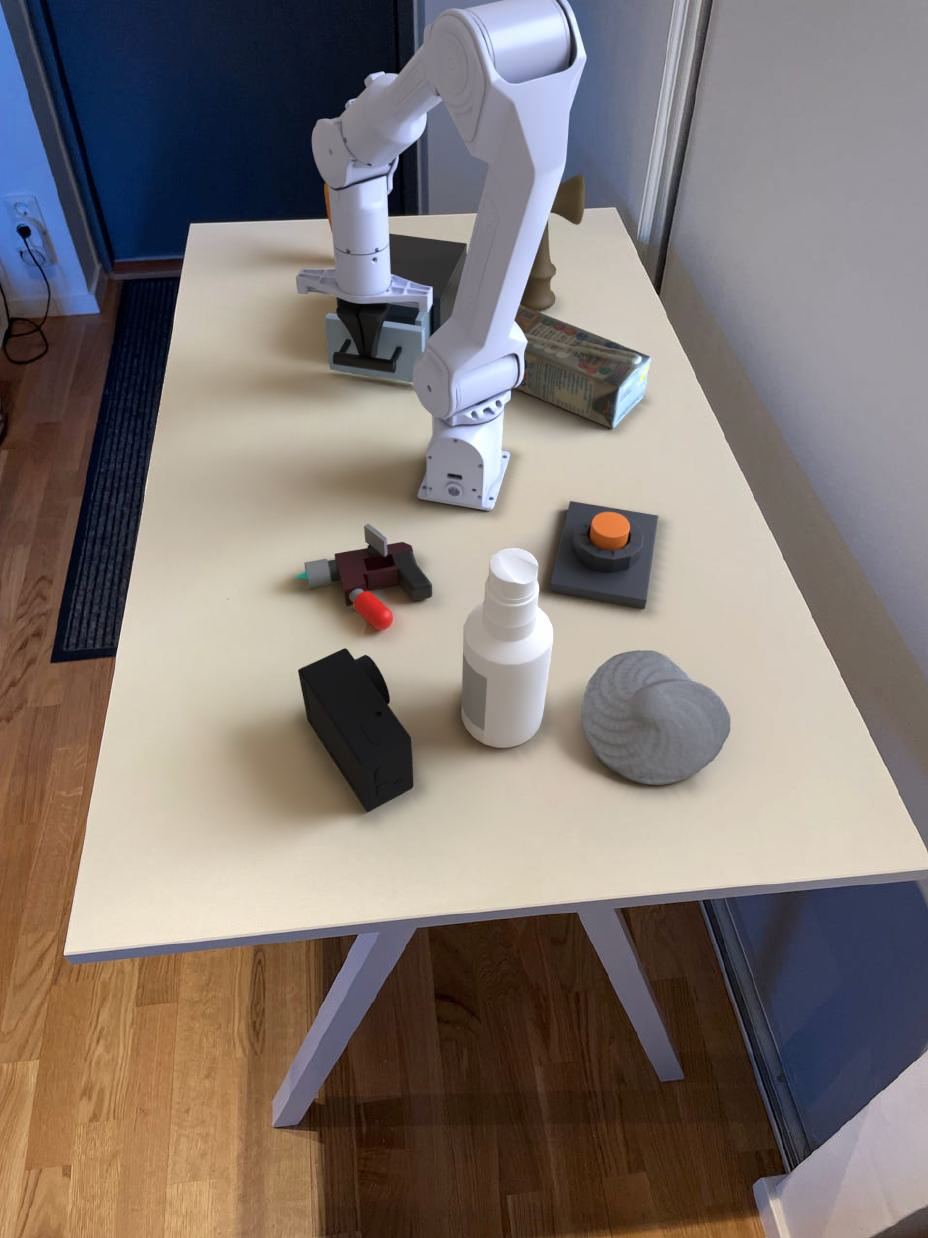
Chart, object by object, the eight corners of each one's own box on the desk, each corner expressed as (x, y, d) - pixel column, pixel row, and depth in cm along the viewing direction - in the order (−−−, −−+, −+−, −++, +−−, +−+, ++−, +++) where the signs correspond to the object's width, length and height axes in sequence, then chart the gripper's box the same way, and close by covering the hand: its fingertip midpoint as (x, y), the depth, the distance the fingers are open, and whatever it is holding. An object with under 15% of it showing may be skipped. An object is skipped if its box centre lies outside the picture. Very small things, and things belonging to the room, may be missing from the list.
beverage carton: (612, 433, 103) (620, 383, 98) (471, 375, 110) (472, 325, 105) (645, 399, 107) (655, 349, 102) (508, 345, 114) (510, 296, 109)
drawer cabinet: (440, 363, 111) (440, 298, 105) (341, 349, 113) (334, 283, 107) (465, 306, 120) (467, 242, 114) (373, 293, 122) (369, 230, 115)
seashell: (618, 661, 81) (550, 720, 75) (642, 621, 77) (572, 679, 71) (724, 749, 78) (662, 818, 72) (755, 711, 73) (691, 781, 67)
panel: (644, 609, 85) (650, 587, 83) (549, 592, 87) (552, 570, 84) (656, 524, 93) (661, 501, 91) (568, 509, 94) (571, 486, 92)
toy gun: (293, 574, 88) (287, 537, 84) (416, 552, 90) (415, 515, 86) (310, 650, 82) (303, 613, 78) (441, 624, 84) (440, 588, 80)
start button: (624, 553, 87) (627, 540, 85) (587, 547, 87) (589, 533, 86) (629, 528, 89) (632, 514, 88) (592, 522, 89) (594, 508, 88)
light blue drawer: (413, 405, 104) (411, 352, 99) (317, 390, 106) (311, 338, 101) (448, 327, 115) (448, 276, 110) (361, 315, 117) (357, 264, 112)
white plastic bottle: (500, 670, 80) (511, 517, 67) (558, 716, 77) (583, 565, 64) (444, 714, 77) (444, 563, 64) (502, 764, 74) (515, 616, 60)
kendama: (498, 291, 123) (505, 133, 108) (569, 291, 123) (587, 133, 108) (500, 315, 119) (508, 154, 104) (574, 315, 119) (592, 155, 104)
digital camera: (428, 781, 73) (427, 731, 68) (367, 814, 71) (362, 765, 66) (364, 692, 79) (359, 640, 73) (307, 720, 77) (297, 668, 71)
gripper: (439, 232, 95) (439, 347, 105) (306, 214, 97) (319, 329, 107) (422, 265, 91) (423, 382, 101) (283, 246, 93) (298, 362, 103)
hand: (368, 357), depth 104 cm, fingers closed, pressing on light blue drawer
